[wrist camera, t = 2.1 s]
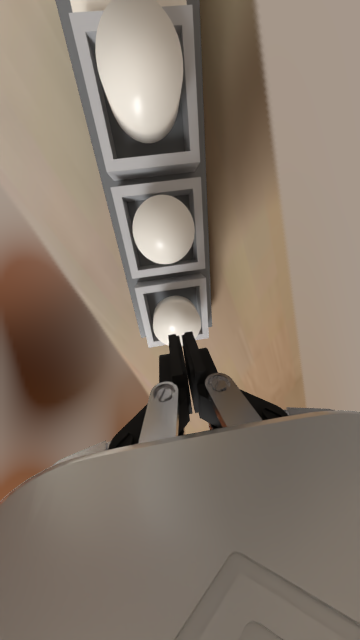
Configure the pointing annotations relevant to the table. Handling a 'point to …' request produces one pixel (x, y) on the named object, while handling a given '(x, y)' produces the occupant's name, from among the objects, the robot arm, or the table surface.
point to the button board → (149, 162)
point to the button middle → (163, 229)
